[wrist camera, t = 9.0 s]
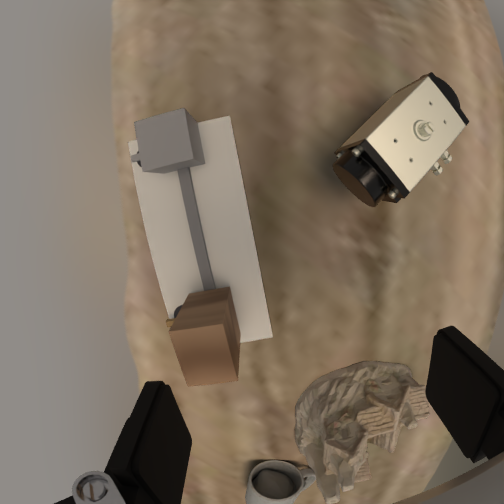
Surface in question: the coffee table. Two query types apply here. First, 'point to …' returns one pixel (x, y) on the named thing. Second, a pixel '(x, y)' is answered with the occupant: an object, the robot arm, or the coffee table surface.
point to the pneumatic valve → (401, 142)
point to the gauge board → (198, 214)
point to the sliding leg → (207, 337)
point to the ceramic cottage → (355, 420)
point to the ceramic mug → (277, 482)
